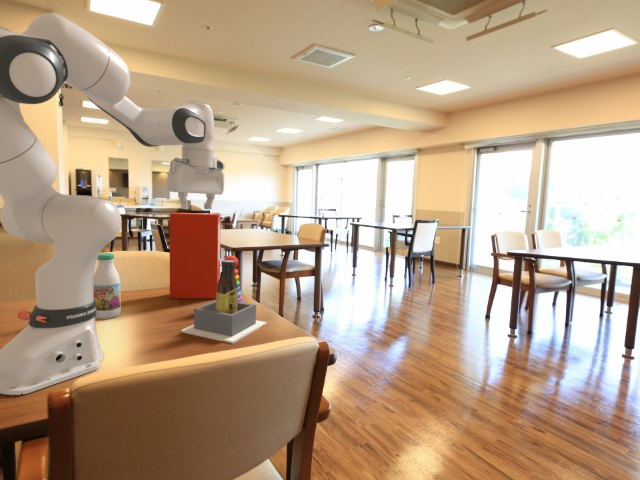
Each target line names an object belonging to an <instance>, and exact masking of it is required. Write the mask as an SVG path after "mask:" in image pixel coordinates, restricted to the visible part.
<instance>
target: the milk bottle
mask: <svg viewBox="0 0 640 480" xmlns="http://www.w3.org/2000/svg"><path fill="white" fill-rule="evenodd" d="M97 262H98V264H97V268H96V271H94V299H95V300H96V312H97V314H96V318H95V319H98V320H107V319H114V318H117V317H119V316H120V315H121V313H122V305H121V303H122V302H121V300H122V299H121V296H122V295H121V279H120V275H119V273H118V271H117V269H116V266H115V264H114V262H115V254H114V253H110V252H108V253H107V252H104V253H100V254H99V256H98V258H97Z"/></svg>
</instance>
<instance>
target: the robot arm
mask: <svg viewBox="0 0 640 480" xmlns="http://www.w3.org/2000/svg"><path fill="white" fill-rule="evenodd" d="M63 83H65V84H67V85H68V86H70V87H71V88H73V89H75V90H76V91H78V92H79V93H81V94H83V95H84V96H85V97H87V99H88V100H89V101H90V102H91V103H92V104H94V106H96V107H97V108H98V109H100V110H101V111H102V112H104V113H105V114H107V115H108V116H110V117H111V118H112V119H113V120H115V121H116V122H118V123H119V124H121V125H122V126H123V127H125V128H126V130H128V132H130V134H131V135H132V136H133V137H134V139H135V140H136V141H137V142H139V143H140V144H141V145H143V146H144V147H148V148H154V147H161V146H182V147H181V158H179V157H174V159H172V160H171V161H170V163H169V169H168V176H167V190H168V191H169V192H171V193H178V194H177V197H178V199H179V201H180V203H181V205H180V208H181V209H182V210H190V209H191V203H190V202H188V199H187V198H188V195H189V194H203V195H205V197H206V198H207V199H206V202H205V203H203V208H204V210H212V208H213V207H212V205H213V203H214V200H215V197H216V196H215V195H223V193H224V190H225V173H224V172H223V171H225V168H226V166H225V163H224V162H223V161H221V160H220V159H218V158H217V156H215V150H214V145H213V143H214V139H215V119H214V118H215V117H214V112H213V109H212V107H211V106H210V105H208V104H206V103H205V102H203V101H199V100H188V101H186V102H185V103H184V104H181V105H180V106H175V107H165V108H161V107H160V108H145V107H140V106H138V105H137V104H136V103H134V102H133V101H132V100H131V99H130V98H128V97H127V96H126V95H127V94H128V92H129V89H130V85H131V73H130V69H129V66H128V64H127V63H126V61H125V60H124V59H123V58H122V57H121V56H120V55H119V54H118V53H117V52H116V51H114V49H112V48H111V47H109V46H108V45H107V44H106V43H105V42H103V41H102V40H100V39H99V38H98V37H97V36H95V35H93V34H92V33H91V32H89V31H87V30H86V29H84V28H83V27H81V26H80V25H78V24H77V23H75V22H73V21H71V20H69V19H67V18H65V17H63V16H62V15H59V14H57V13H43V14H40V15H39V16H36V17H35V18H34V19H33V20H31V22H30V23H29V24H28V26H27V28H26V30H24V31H23V32H21V33H19V32H15V31H12V30H11V29H8V28H5V27H4V26H3V27H2V26H0V196H1V198H2V200H3V203H4V204H3V206H2V207H1V210H0V223H1V226H2V228H3V229H4V231H5V232H6V233H8V234H9V235H10V236H13V237H16V238H18V239H22V240H25V241H29V242H33V243H49V244H54V252H53V255H52V257H51V258H50V260H49V261H47V262H45V263H43V264H42V265H40V266H39V268H38V269H37V270H36V271H35V274H34V282H35V284H34V285H35V301H36V304H35V305H34V308H33V309H32V311H29V310H25V309H21V310H18V311H17V313H16V315H15V316H16V318H17V319H19V320H23V321H28V322H27V323H28V325H26V326H25V327H24V328H23V329H22V330H20V332H19V333H17V335H16V336H14V337H13V338H12V339H11V340H10V341H9V342H7V343H6V344H5V345H4V346H2V347H1V348H0V395H8V396H15V395H16V396H22V395H21V394H23V395H27V394H29V393H32V392H36V391H38V390H41V389H44V388H47V387H51V386H53V385H55V384H58V383H62V382H64V381H67V380H70V379H73V378H76V377H79V376H82V375H86V374H88V373H90V372H93V371H96V370H98V369H100V363H101V361H102V360H103V358H104V353H103V351H102V348H101V345H100V341H99V340H100V339H99V338H98V332H97V331H98V330H97V324H96V319H97V318H96V314H97V312H96V300H95V299H94V274H95V269H96V268H95V267H96V264H97V262H98V259H97V258H98V256H99V254H101V252H102V251H103V250H104V248H105V247H106V246H107V245H108V244H110V243H111V242H112V241H113V240H115V238H116V237H117V236H118V234H119V232H120V230H121V228H122V216H121V212H120V210H119V208H118V207H117V206H116V204H115V203H114V202H113V201H111V200H107V199H104V198H101V197H97V196H91V195H80V194H63V193H60V192H58V191H57V190H55V189H54V187H53V184H54V182H56V179H57V175H58V165H57V164H56V162H55V160H54V159H53V158H52V156H51V155H50V153H49V152H48V151H47V149H46V148H45V147H44V145H43V144H42V142H41V141H40V140H39V138H38V136H37V135H36V134H35V133H34V130H32V128H30V126H29V125H28V124H27V122H26V121H25V119H24V117H23V115H22V112H21V108H20V104H23V105H24V104H25V105H39V104H42V103H46V102H48V101H49V100H51V99H52V98H53V97H54V96H56V95H57V94H58V92H59V90H60V89H61V87H62V85H63Z"/></svg>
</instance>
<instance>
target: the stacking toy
mask: <svg viewBox="0 0 640 480" xmlns="http://www.w3.org/2000/svg"><path fill="white" fill-rule="evenodd" d="M223 260H233V261H235V270H234V273H235V279H236V282H237V285H238V300H237V302H242V300H243V297H242V296H241V295H242V292H241V286H240V284H241V283H240V276H239V270H238V269H237V267H238V266H239V260H238V258H237V257H236V256H234V255H227V256H226V257H225V258H224V259H223Z"/></svg>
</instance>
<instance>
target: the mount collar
mask: <svg viewBox="0 0 640 480" xmlns="http://www.w3.org/2000/svg"><path fill="white" fill-rule="evenodd" d="M265 324H266V325H268V323H267V321H262V320H257V304H253V303H248V302H247V303H246V302H242V301H241V302H237V312H235V313H233V314H228V313H222V312H217V311H216V300H214V301H211V302H208V303H206V304H204V305H200V306H198V307H195V308H194V309H193V324H192V325H190V326H188V327H185V328H183V329H181V330H180V333H184V334H187V335H193V336H197V337H200V338H206V339H211V340H214V341H215V340H216V341H218V342H219V341H220V342H224V343H229V344H232V345H233V344H235V343H237V342H238V341H241V340H242V339H244V338H245V337H248V336H249V335H251V334H252V333H254V332H256V331H258V330H259V329H261V328H262V326H263V325H264V326H266V325H265ZM264 326H263V327H264ZM260 327H261V328H260ZM255 330H256V331H255ZM250 333H251V334H250Z"/></svg>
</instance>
